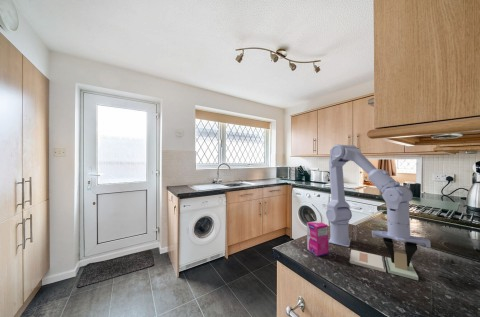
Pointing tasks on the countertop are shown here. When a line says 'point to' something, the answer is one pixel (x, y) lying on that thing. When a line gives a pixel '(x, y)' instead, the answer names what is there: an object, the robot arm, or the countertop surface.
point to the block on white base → (400, 265)
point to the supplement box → (317, 238)
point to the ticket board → (367, 260)
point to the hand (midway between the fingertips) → (399, 263)
